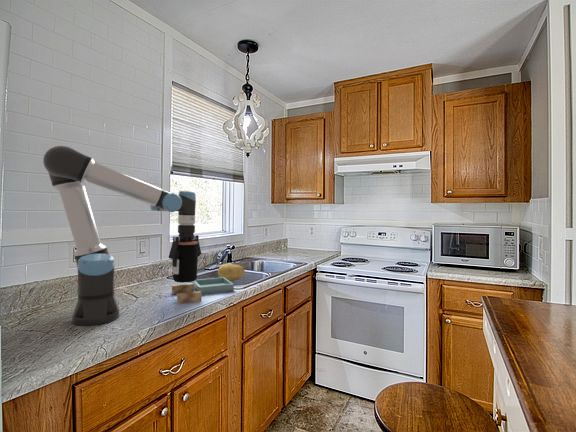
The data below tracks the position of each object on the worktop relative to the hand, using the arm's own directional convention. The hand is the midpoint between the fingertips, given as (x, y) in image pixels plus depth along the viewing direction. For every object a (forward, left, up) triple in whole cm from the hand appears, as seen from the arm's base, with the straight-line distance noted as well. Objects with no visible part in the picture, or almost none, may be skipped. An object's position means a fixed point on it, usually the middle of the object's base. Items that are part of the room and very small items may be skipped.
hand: (185, 271), depth 150 cm
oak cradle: (0, 0, -12) cm, 12 cm away
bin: (+15, +10, -12) cm, 22 cm away
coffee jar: (0, 0, -4) cm, 4 cm away
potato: (+29, +24, -12) cm, 40 cm away
